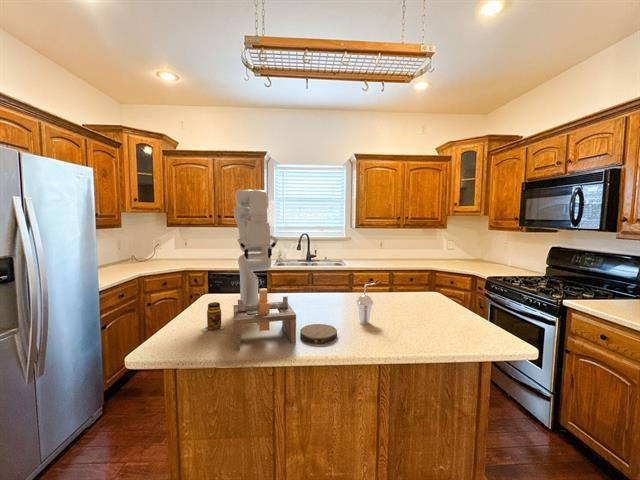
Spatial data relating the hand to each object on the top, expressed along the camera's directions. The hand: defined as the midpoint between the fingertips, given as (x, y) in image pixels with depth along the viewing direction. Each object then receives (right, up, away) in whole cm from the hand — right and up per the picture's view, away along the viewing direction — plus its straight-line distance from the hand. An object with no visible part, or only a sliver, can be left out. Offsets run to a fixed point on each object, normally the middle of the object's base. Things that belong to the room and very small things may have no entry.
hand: (258, 257), depth 130 cm
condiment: (-22, -33, +6) cm, 40 cm away
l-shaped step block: (+3, -29, -3) cm, 30 cm away
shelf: (+3, -34, -3) cm, 34 cm away
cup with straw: (+49, -33, +16) cm, 62 cm away
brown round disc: (+27, -35, -2) cm, 44 cm away
